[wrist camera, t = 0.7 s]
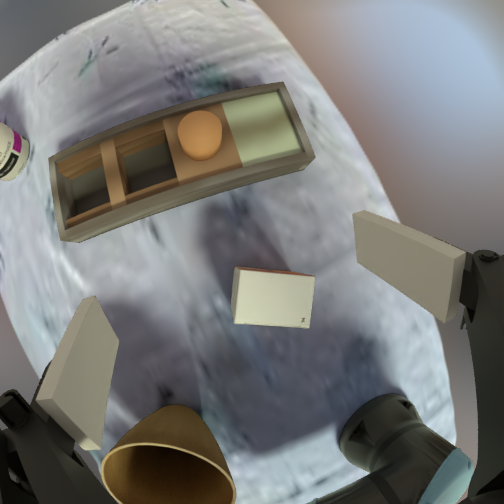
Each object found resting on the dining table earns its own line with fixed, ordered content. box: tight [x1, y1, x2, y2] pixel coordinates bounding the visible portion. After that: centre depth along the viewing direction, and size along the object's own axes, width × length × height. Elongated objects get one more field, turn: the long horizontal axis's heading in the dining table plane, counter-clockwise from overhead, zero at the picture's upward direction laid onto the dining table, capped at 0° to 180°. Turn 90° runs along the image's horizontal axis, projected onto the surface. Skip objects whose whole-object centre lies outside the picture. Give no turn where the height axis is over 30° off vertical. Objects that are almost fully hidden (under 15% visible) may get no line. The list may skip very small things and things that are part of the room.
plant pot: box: [101, 405, 236, 504], centre depth 29 cm, size 15×15×16 cm
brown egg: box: [178, 111, 222, 161], centre depth 31 cm, size 5×5×4 cm
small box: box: [231, 266, 315, 329], centre depth 33 cm, size 8×6×10 cm
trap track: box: [48, 82, 315, 243], centre depth 35 cm, size 12×34×6 cm, turn 108°
